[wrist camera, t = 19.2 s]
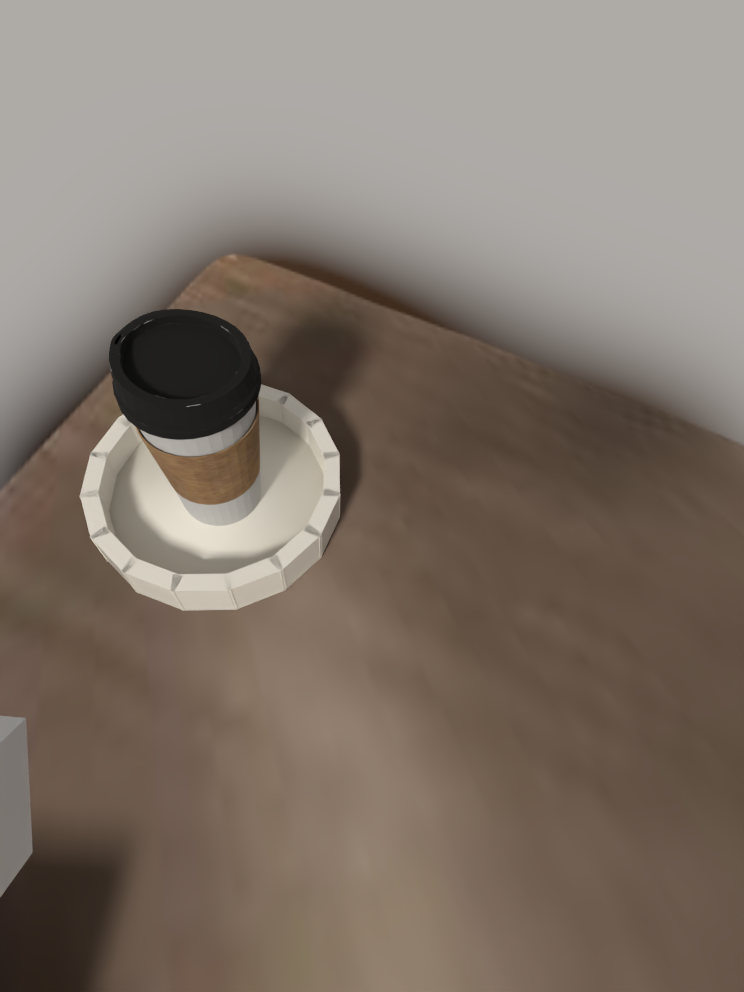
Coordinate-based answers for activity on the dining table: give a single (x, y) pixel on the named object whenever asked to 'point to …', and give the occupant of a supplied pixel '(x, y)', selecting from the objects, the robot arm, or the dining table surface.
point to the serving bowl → (206, 548)
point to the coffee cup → (194, 407)
